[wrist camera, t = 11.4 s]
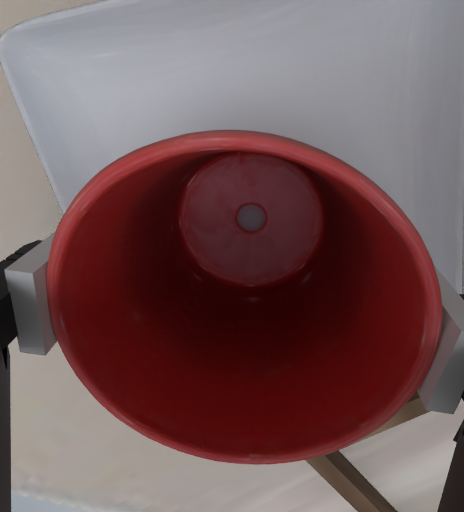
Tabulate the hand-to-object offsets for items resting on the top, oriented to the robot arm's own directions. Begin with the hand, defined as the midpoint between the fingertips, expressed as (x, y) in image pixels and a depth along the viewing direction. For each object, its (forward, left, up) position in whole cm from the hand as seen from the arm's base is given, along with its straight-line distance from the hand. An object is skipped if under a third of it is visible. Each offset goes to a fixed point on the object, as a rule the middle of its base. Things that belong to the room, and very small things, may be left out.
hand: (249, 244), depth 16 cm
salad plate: (0, 0, -8) cm, 8 cm away
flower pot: (0, 0, -4) cm, 4 cm away
